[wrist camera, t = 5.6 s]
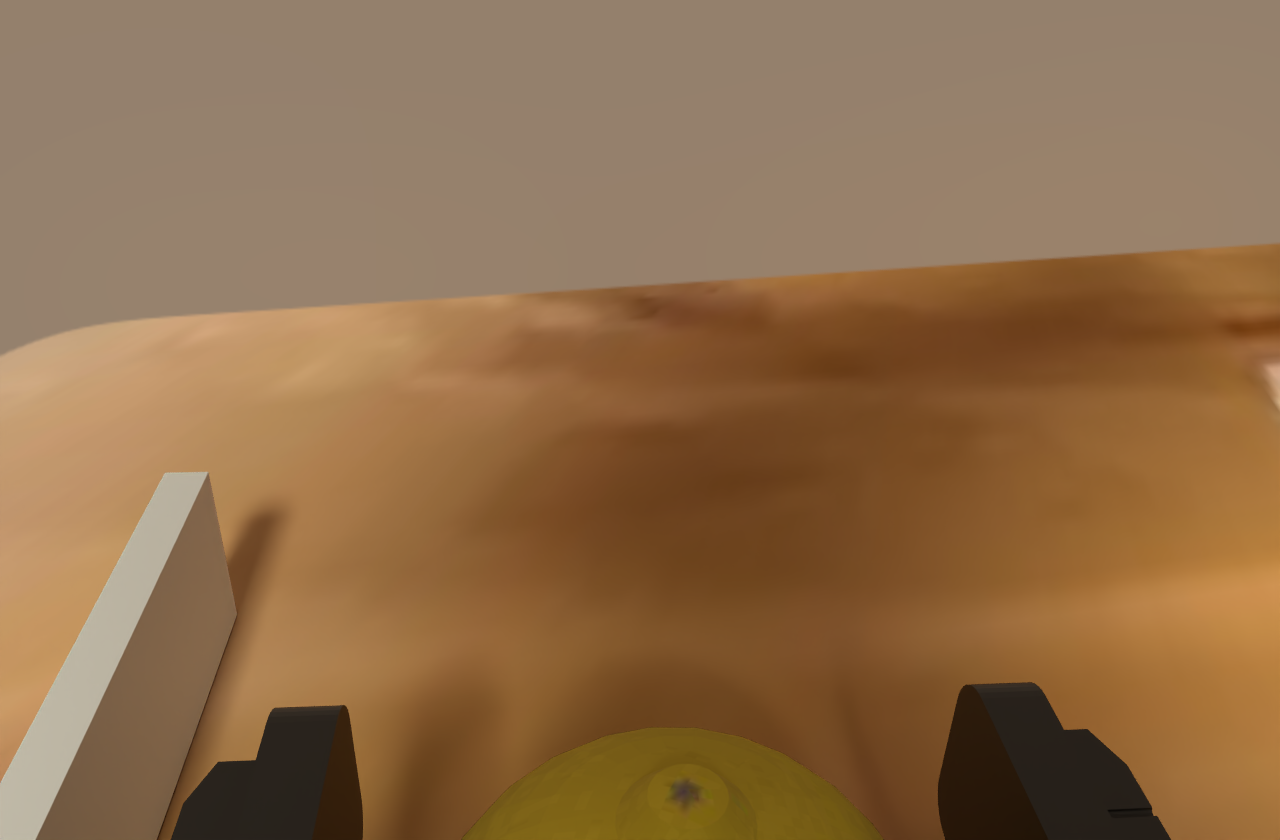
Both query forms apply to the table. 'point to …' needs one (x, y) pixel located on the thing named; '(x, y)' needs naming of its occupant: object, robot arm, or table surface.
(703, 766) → the lemon
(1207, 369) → the table surface
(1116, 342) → the table surface
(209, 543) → the low wall
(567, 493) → the table surface
